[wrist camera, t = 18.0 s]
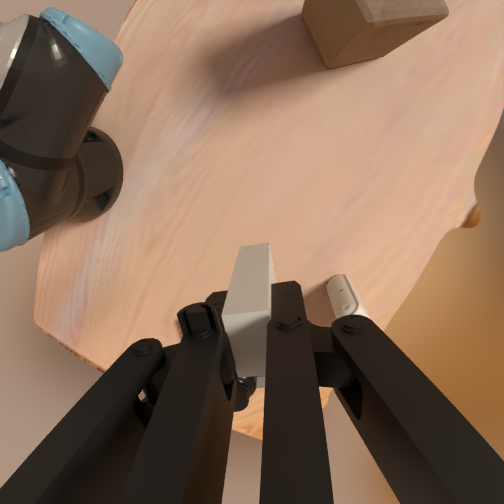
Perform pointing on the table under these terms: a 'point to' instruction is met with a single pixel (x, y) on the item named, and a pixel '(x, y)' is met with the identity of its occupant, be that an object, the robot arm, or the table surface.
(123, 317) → the table surface
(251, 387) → the supplement bottle
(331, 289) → the photo printer
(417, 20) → the wooden block
